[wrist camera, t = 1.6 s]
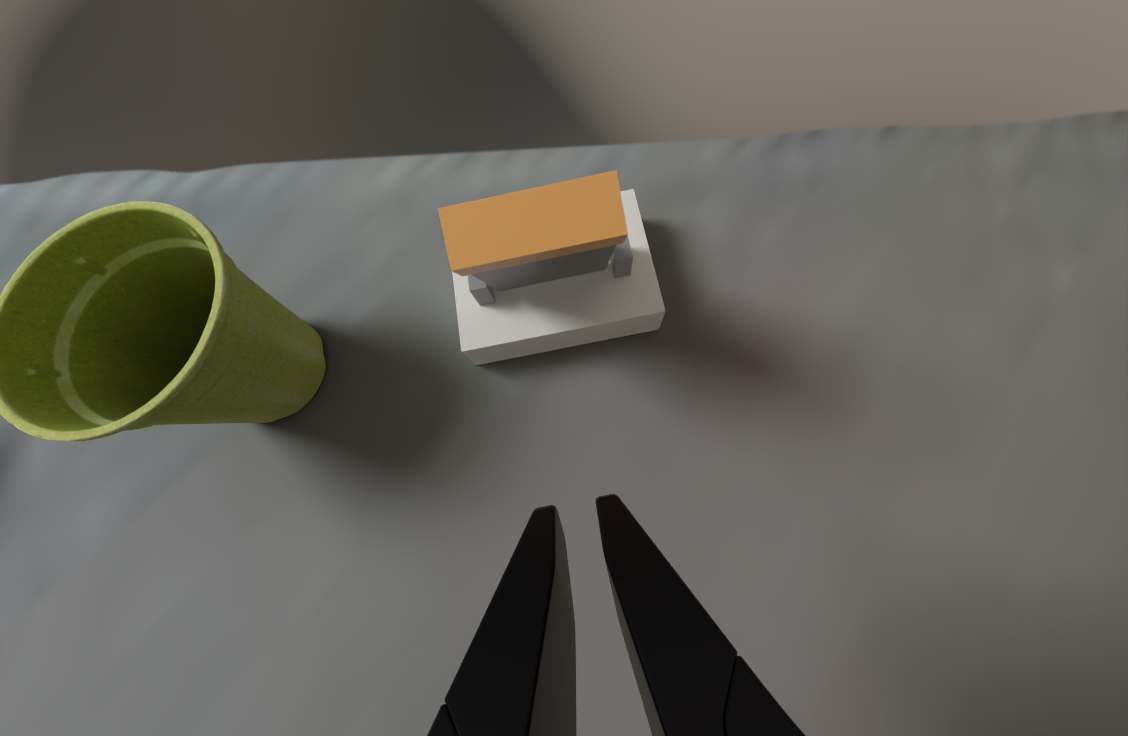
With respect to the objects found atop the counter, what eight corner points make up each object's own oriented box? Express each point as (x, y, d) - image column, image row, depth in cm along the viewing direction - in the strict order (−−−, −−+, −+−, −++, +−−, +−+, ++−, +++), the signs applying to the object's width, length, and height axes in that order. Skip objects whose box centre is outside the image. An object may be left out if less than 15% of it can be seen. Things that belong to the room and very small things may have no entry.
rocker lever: (607, 275, 20) (631, 233, 12) (500, 297, 20) (448, 271, 12) (601, 238, 20) (619, 169, 12) (493, 261, 20) (434, 209, 12)
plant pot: (388, 329, 24) (270, 247, 15) (297, 484, 22) (105, 487, 13) (262, 272, 25) (95, 171, 17) (168, 411, 24) (-70, 374, 15)
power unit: (658, 329, 22) (671, 295, 18) (476, 365, 22) (448, 340, 18) (630, 218, 24) (635, 165, 20) (462, 253, 24) (434, 208, 20)
